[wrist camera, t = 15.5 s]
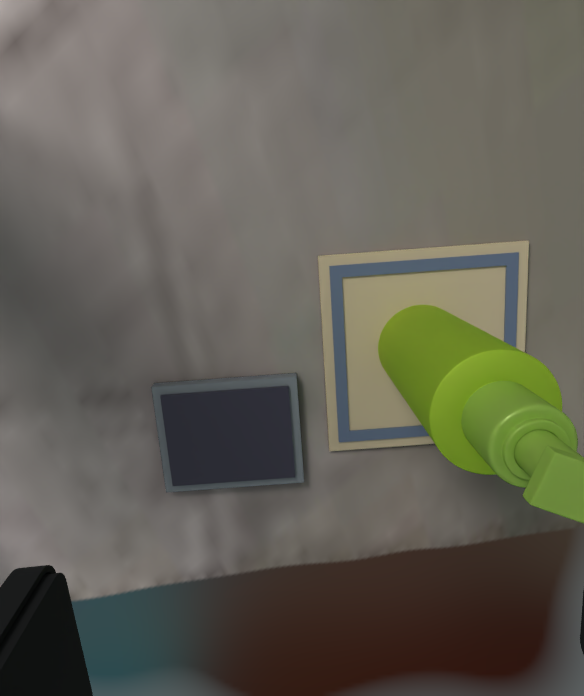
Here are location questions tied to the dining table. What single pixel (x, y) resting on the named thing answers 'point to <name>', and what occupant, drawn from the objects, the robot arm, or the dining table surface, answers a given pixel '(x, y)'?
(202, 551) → the dining table surface
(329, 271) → the card sheet
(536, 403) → the soap dispenser
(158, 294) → the dining table surface
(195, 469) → the ink pad
